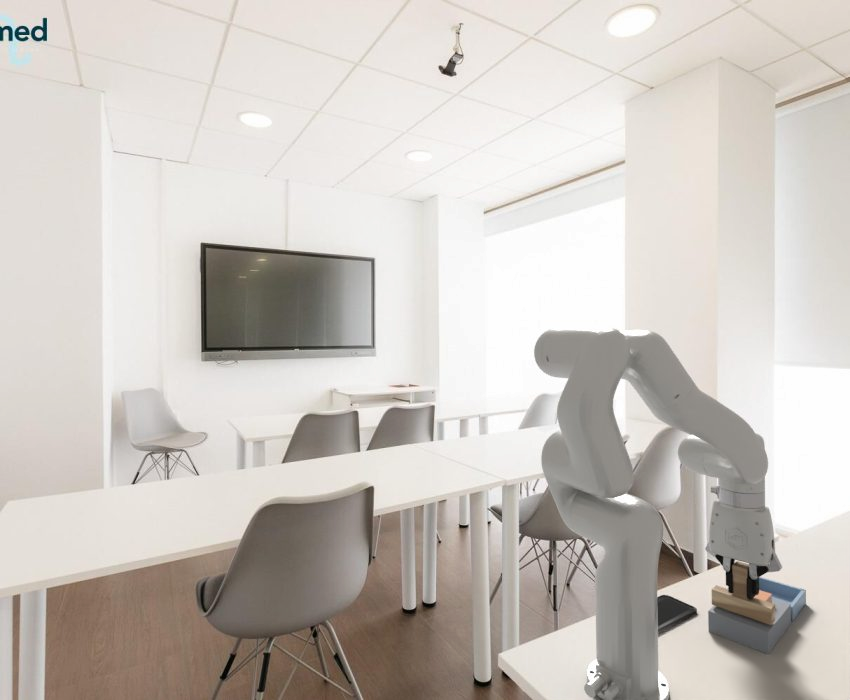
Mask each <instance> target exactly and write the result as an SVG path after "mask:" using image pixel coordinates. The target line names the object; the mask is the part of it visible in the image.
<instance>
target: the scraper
mask: <svg viewBox="0 0 850 700" xmlns="http://www.w3.org/2000/svg"><path fill="white" fill-rule="evenodd" d="M749 573H750V572H749V563H746V562H742V561H738V560H736V561H735V563H734V564H733V565H732V574H733V593H729V592H728V588H726V587H723V586H721V585H715V586H714V587H713V588H711V605H712V606H714V605H715V606H718V607H720V608H723V609H726V610H729V611H732V612H735V613H738V614H741V615H743V616H746V617H749V618H752V619H755V620H758V621H761V622H764V623H766V624H769V625H772V624H773V622H774V621H775V604H773V603H770V602H767V601H764V600H761V599H758V598H755V597H754V598H753V599H752V600H750V599H748V598H747V578H748V577H749Z"/></svg>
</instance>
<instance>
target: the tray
mask: <svg viewBox="0 0 850 700" xmlns="http://www.w3.org/2000/svg"><path fill="white" fill-rule="evenodd" d="M759 590H761V591H764V592H767V593H771V594H772V598H773V599H776V600H779V601H782V602H786V603H789V604H791V623H793V622H794V621H795V620H796V618H797V617H798V615H799V614H800V613H801V612H802V610H803V609H804V608H805V606H806V604H807V599H806V598H807V590H806V589H803V588H800V587H796V586H793V585H789V584H786V583H782V582H779V581H776V580H772V579H769V578H766V577H763V576H760V577H759Z"/></svg>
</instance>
